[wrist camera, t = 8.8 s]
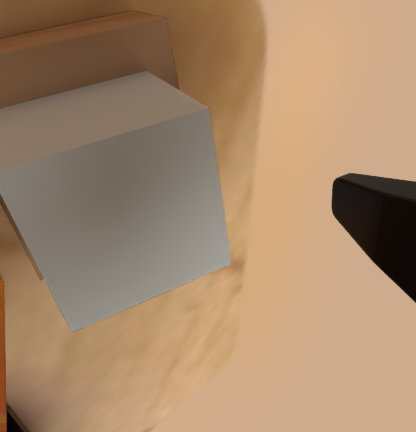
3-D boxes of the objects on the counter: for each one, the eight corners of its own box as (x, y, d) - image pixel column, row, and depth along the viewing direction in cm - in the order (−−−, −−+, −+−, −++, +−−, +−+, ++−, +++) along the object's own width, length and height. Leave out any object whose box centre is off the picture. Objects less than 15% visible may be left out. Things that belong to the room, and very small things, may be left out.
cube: (174, 195, 16) (231, 263, 12) (51, 239, 15) (71, 333, 11) (146, 70, 13) (209, 107, 9) (-9, 111, 12) (-11, 173, 8)
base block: (170, 181, 20) (202, 218, 17) (32, 229, 18) (40, 280, 15) (132, 10, 16) (166, 17, 13) (-55, 49, 14) (-69, 69, 11)
